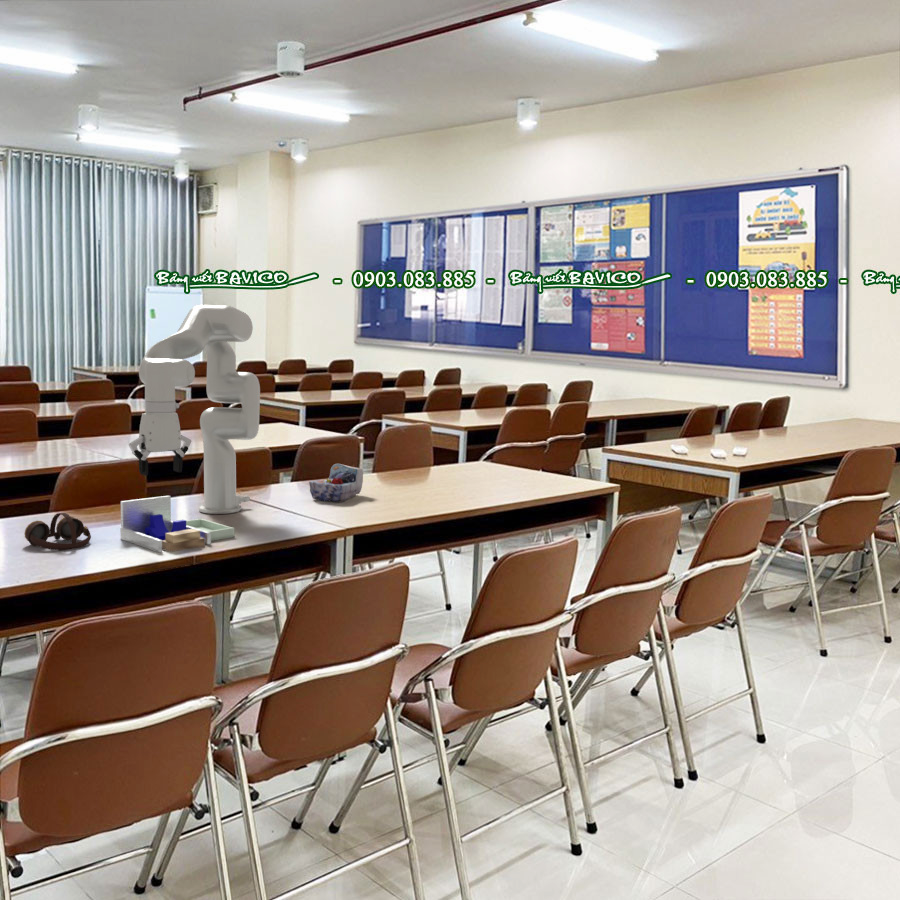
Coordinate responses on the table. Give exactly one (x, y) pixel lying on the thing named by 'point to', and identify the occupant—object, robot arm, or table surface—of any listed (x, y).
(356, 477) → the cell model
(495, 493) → the table surface
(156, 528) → the cable clip
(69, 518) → the goggles
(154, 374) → the robot arm
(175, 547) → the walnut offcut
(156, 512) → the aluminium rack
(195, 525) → the sage tray
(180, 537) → the oak offcut
